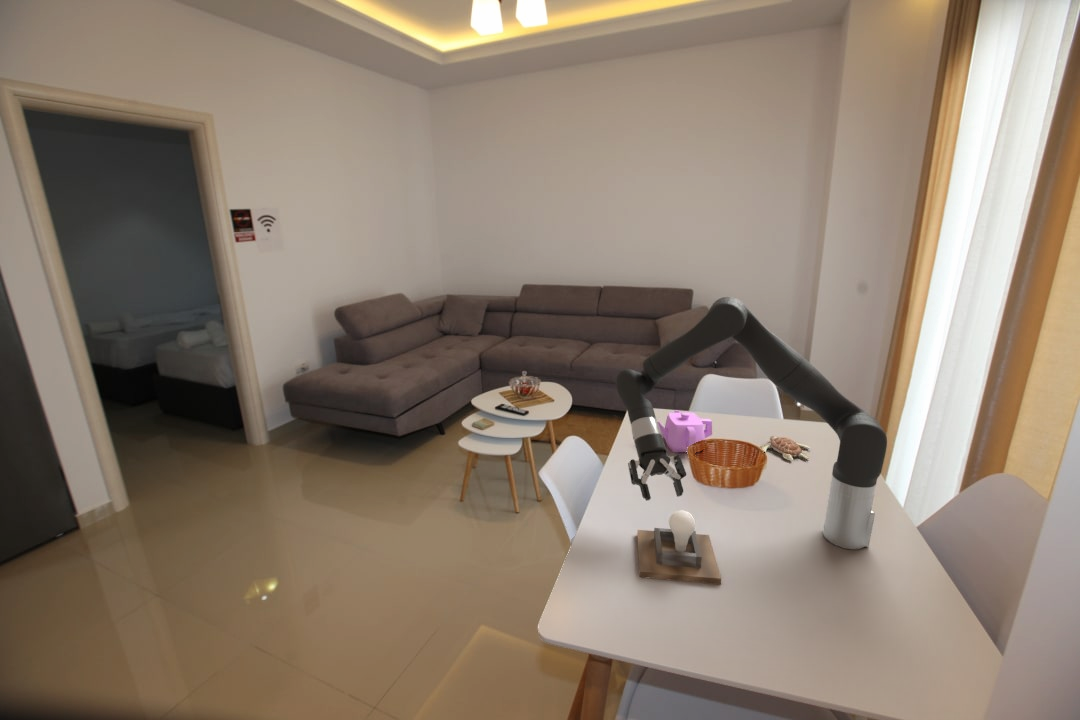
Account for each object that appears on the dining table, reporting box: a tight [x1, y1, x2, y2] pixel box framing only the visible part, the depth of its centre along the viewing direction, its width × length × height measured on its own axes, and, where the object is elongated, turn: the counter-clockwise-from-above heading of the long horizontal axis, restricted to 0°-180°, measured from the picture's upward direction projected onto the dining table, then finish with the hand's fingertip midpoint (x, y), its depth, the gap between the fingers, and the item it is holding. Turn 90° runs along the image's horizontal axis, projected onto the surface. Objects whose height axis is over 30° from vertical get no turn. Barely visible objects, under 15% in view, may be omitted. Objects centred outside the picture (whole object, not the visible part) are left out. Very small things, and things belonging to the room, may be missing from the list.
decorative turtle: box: [759, 435, 811, 461], centre depth 170 cm, size 18×17×5 cm
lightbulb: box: [668, 509, 696, 552], centre depth 116 cm, size 6×6×11 cm
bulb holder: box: [636, 527, 722, 585], centre depth 117 cm, size 18×16×4 cm
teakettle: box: [657, 409, 713, 454], centre depth 176 cm, size 17×17×12 cm
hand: (664, 497), depth 122 cm, fingers open, 8 cm apart
